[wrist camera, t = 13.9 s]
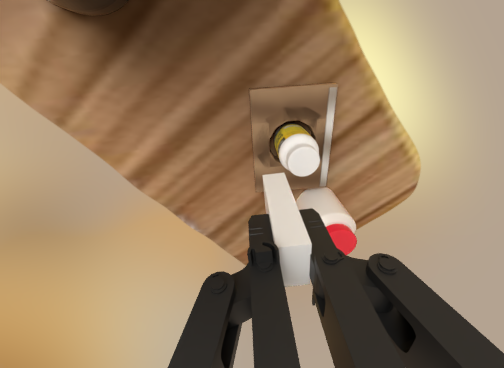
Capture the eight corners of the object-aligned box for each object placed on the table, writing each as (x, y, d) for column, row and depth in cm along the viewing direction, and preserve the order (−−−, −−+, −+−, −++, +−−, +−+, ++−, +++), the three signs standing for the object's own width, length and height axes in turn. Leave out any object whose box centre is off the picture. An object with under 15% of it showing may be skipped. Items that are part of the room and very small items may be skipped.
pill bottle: (342, 206, 42) (373, 248, 32) (308, 225, 44) (326, 270, 34) (324, 178, 38) (351, 214, 29) (287, 200, 40) (301, 241, 31)
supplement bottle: (273, 123, 34) (283, 141, 25) (307, 121, 34) (329, 139, 25) (272, 155, 36) (281, 182, 27) (304, 154, 36) (323, 180, 28)
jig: (249, 88, 31) (249, 90, 29) (331, 82, 31) (339, 83, 29) (255, 185, 39) (255, 193, 36) (321, 180, 39) (326, 188, 36)
